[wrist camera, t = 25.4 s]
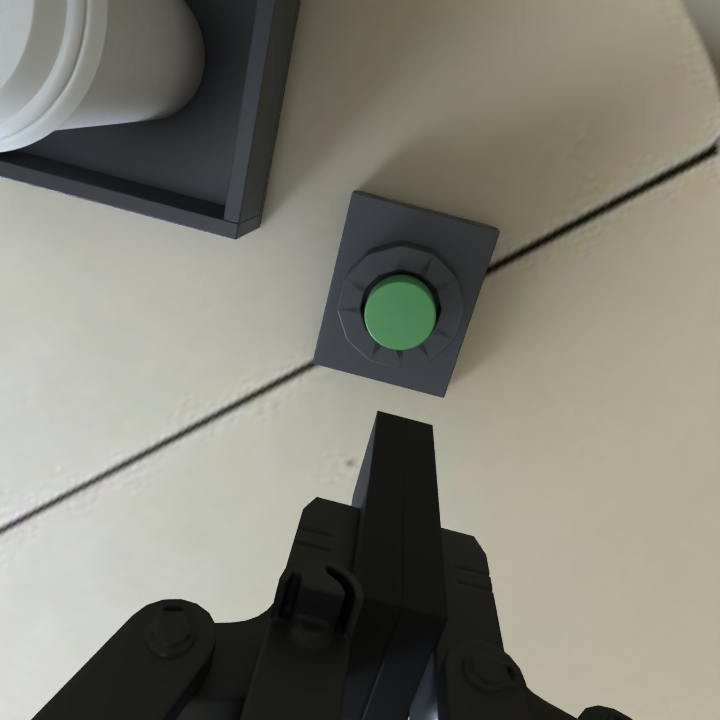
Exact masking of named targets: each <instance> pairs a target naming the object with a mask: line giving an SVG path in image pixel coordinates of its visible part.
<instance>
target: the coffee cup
mask: <svg viewBox="0 0 720 720" xmlns="http://www.w3.org/2000/svg"><path fill="white" fill-rule="evenodd" d="M204 64H205V49H204V42H203V37H202V33H201V30H200V27H199V24H198V22H197V20H196V18H195V16H194V14H193V12H192V10H191V9H190V7H189V6H188V4H187V3H186V2H185V1H184V0H0V152H6V151H11V150H15V149H19V148H22V147H25V146H27V145H30V144H32V143H34V142H36V141H38V140H40V139H42V138H44V137H45V136H47V135H49V134H50V133H51V132H53V131H54V130H63V129H72V128H81V127H91V126H100V125H110V124H120V123H129V122H139V121H149V120H157V119H162V118H166V117H169V116H171V115H173V114H175V113H177V112H178V111H180V110H181V109H182V108H184V107H185V106H186V105H187V104H188V103H189V101H190V100H191V99H192V98H193V96H194V95H195V93H196V91H197V89H198V87H199V85H200V82H201V79H202V76H203V71H204Z"/></svg>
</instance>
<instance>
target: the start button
mask: <svg viewBox="0 0 720 720" xmlns="http://www.w3.org/2000/svg"><path fill="white" fill-rule="evenodd" d="M435 321H436V310H435V304H434V299H433V296H432V294H431V291H430V290H429V288H428V287H427V286H426V285H425V284H424V283H423V282H422V281H420V280H419V279H417V278H415V277H412V276H409V275H401V274H400V275H392V276H389V277H387V278H385V279H383V280H381V281H380V282H379V283H377V284H376V285H375V287H374V288H373V289H372V291H371V292H370V294H369V297H368V300H367V304H366V307H365V323H366V327H367V329H368V331H369V333H370V334H371V336H372V337H373V338H374V339H375V340H376V341H377V342H378V343H380V344H381V345H383V346H385V347H387V348H390V349H396V350H405V349H410V348H413V347H415V346H417V345H419V344H421V343H422V342H423V341H425V340H426V339H427V338H428V336H429V335H430V334H431V332H432V330H433V328H434V325H435Z"/></svg>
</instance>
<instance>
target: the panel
mask: <svg viewBox="0 0 720 720" xmlns="http://www.w3.org/2000/svg"><path fill="white" fill-rule="evenodd" d="M499 232H500V231H499V230H498V229H497V228H495V227H491V226H487V225H483V224H480V223H476V222H472V221H468V220H465V219H461V218H457V217H453V216H450V215H446V214H442V213H438V212H435V211H431V210H427V209H423V208H420V207H416V206H412V205H408V204H405V203H401V202H397V201H393V200H390V199H386V198H382V197H378V196H375V195H371V194H367V193H363V192H360V191H354V192H353V193H352V197H351V201H350V205H349V209H348V214H347V218H346V222H345V226H344V231H343V235H342V239H341V243H340V248H339V252H338V256H337V260H336V265H335V269H334V273H333V278H332V282H331V286H330V290H329V295H328V299H327V303H326V307H325V312H324V316H323V320H322V324H321V329H320V333H319V337H318V342H317V346H316V350H315V354H314V359H313V364H317V365H321V366H325V367H329V368H332V369H336V370H340V371H344V372H348V373H351V374H355V375H359V376H363V377H367V378H370V379H374V380H378V381H382V382H386V383H389V384H393V385H397V386H401V387H405V388H408V389H412V390H416V391H420V392H424V393H427V394H431V395H435V396H439V397H443V398H444V396H445V393H446V390H447V387H448V384H449V381H450V378H451V375H452V372H453V369H454V366H455V363H456V360H457V357H458V354H459V351H460V348H461V345H462V342H463V339H464V336H465V333H466V330H467V328H468V325H469V322H470V319H471V316H472V313H473V310H474V307H475V304H476V301H477V298H478V295H479V292H480V289H481V286H482V283H483V280H484V277H485V274H486V271H487V268H488V265H489V262H490V259H491V256H492V253H493V250H494V247H495V244H496V241H497V238H498V235H499ZM400 274H401V275H409V276H412V277H415V278H417V279H419V280H420V281H422V282H423V283H424V284H425V285H426V286H427V287H428V288H429V290H430V291H431V294H432V296H433V299H434V304H435V310H436V321H435V325H434V328H433V330H432V332H431V334H430V335H429V336H428V338H427V339H426V340H425V341H423V342H422V343H421V344H419V345H417V346H415V347H413V348H410V349H405V350H396V349H390V348H387V347H385V346H383V345H381V344H380V343H378V342H377V341H376V340H375V339H374V338H373V337H372V336H371V334H370V333H369V331H368V329H367V327H366V323H365V307H366V304H367V300H368V297H369V294H370V292H371V291H372V289H373V288H374V287H375V285H376V284H377V283H379V282H380V281H381V280H383V279H385V278H387V277H389V276H392V275H400Z"/></svg>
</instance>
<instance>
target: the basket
mask: <svg viewBox="0 0 720 720" xmlns="http://www.w3.org/2000/svg"><path fill="white" fill-rule="evenodd" d="M184 1H185V2H186V3H187V4H188V6H189V7H190V9H191V10H192V12H193V14H194V16H195V18H196V20H197V22H198V24H199V27H200V30H201V33H202V37H203V42H204V49H205V64H204V71H203V76H202V79H201V82H200V85H199V87H198V89H197V91H196V93H195V95H194V96H193V98H192V99H191V100H190V101H189V103H188V104H187V105H186V106H185V107H184V108H182V109H181V110H180V111H178V112H177V113H175V114H173V115H171V116H169V117H166V118H162V119H157V120H149V121H139V122H129V123H120V124H110V125H100V126H91V127H81V128H72V129H63V130H54V131H53V132H51V133H50V134H49V135H47V136H45V137H44V138H42V139H40V140H38V141H36V142H34V143H32V144H30V145H27V146H25V147H22V148H19V149H15V150H11V151H6V152H0V177H2V178H6V179H9V180H13V181H17V182H21V183H25V184H28V185H32V186H36V187H40V188H43V189H47V190H51V191H55V192H58V193H62V194H66V195H70V196H74V197H77V198H81V199H85V200H89V201H92V202H96V203H100V204H104V205H107V206H111V207H115V208H119V209H123V210H126V211H130V212H134V213H138V214H141V215H145V216H149V217H153V218H156V219H160V220H164V221H168V222H172V223H175V224H179V225H183V226H187V227H190V228H194V229H198V230H202V231H205V232H209V233H213V234H217V235H221V236H224V237H228V238H232V239H238V238H240V237H242V236H244V235H246V234H247V233H249V232H251V231H253V230H255V229H257V228H259V227H260V223H261V217H262V212H263V206H264V201H265V195H266V189H267V184H268V178H269V173H270V167H271V162H272V156H273V150H274V145H275V139H276V134H277V128H278V123H279V117H280V111H281V106H282V100H283V95H284V89H285V84H286V78H287V72H288V67H289V61H290V56H291V50H292V45H293V39H294V33H295V28H296V22H297V17H298V11H299V6H300V0H184Z"/></svg>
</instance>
